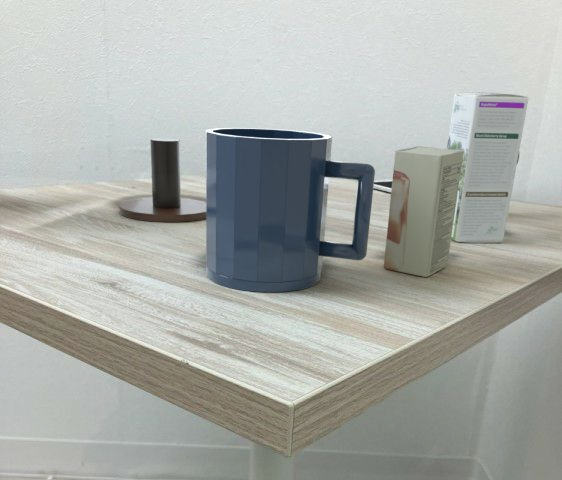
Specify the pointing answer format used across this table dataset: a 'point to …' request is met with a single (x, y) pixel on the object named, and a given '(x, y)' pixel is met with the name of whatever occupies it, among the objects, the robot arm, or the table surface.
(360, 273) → the table surface
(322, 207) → the blue faceted mug
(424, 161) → the printed cream carton
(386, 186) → the cell phone
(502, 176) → the syrup box
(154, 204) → the lid
